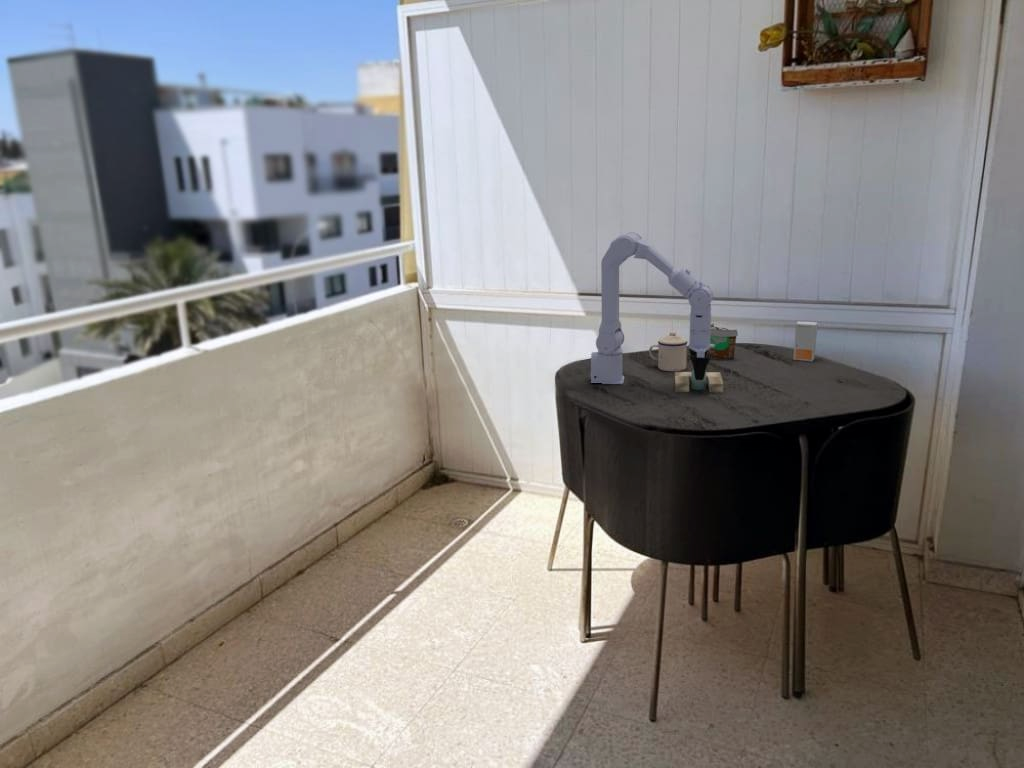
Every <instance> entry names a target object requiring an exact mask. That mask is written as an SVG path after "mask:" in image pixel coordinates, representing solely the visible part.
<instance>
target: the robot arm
mask: <svg viewBox="0 0 1024 768" xmlns="http://www.w3.org/2000/svg"><path fill="white" fill-rule="evenodd" d="M632 256H634V257H633V258H634V259H639V260H640V259H641V260H646V261H647V262H648V263H650V264H651V265H652V266H654V267H655V268H657V270H659V271H660V272H662V273H663V274H664V275H665V276H667V279H668V284H669V285H670V286H671V287H673V289H675V290H676V291H677V292H678V293H680V294H681V295H682V296H683V297H684V298H685V299H688V303H689V305H690V313H689V342H688V352H689V353H690V354H689V358H690V359H689V360H691V364H692V367H693V370H694V374H695V379H696V380H703V379H704V375H705V371H706V372H707V367H708V364H709V362H710V361H711V359H712V358H711V356H709V355H707V354H708V353H709V349H710V348H714V344H710V335H711V324H712V304H711V303H712V301H713V298H714V293H713V290H712V289H711V288H710V286H709V285H707V284H704V282H703V281H702V280H700V281H699V280H698V279H697V278H695V276H694V275H692V274H691V270H690V269H689V268H686V269H685V268H684V267H676V266H675V265H674V264H673V263H672V262H671V261H669V259H667V258H666V257H665V256H664V255H663V254H662V253H661V252H660V251H659V250H658V249H657V248H656V247H655V246H653V244H652V243H650V242H649V241H648V240H647V239H646V238H642V236H641V235H640V234H638V233H637V232H633V231H632V232H627V233H626V234H622V235H620V236H618V237H617V238H615V239H614V240H612V241H611V242H610V245H609V247H608V249H607V250H606V251H605V254H604V256H602V259H601V267H600V268H601V274H600V276H601V322H600V325H599V328H598V335H597V338H596V340H595V347H596V349H597V351H595V352H594V351H593V352H591V354H590V355H591V356H590V384H591V383H602V384H601V385H624V381H625V376H624V375H623V349H622V347H621V346H622V345H623V344H624V341H625V333H624V332H623V330H622V323H621V321H620V266H621V265H623V263H625V262H626V261H627V260H628V259H629V258H631V257H632Z"/></svg>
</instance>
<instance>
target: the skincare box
mask: <svg viewBox="0 0 1024 768" xmlns="http://www.w3.org/2000/svg"><path fill="white" fill-rule="evenodd" d="M818 324H819V323H818V322H814V321H799V320H798V321H797V322H796V323H795V335H794V336H795V337H794V346H793V360H794V361H803V362H804V361H805V362H813V361H814V360H815V357H816V348H817V347H816V346H817V345H816V344H817V333H818Z"/></svg>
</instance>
